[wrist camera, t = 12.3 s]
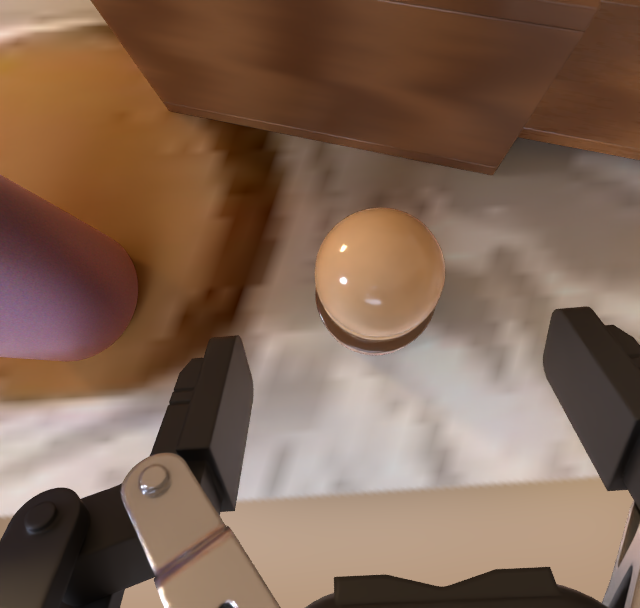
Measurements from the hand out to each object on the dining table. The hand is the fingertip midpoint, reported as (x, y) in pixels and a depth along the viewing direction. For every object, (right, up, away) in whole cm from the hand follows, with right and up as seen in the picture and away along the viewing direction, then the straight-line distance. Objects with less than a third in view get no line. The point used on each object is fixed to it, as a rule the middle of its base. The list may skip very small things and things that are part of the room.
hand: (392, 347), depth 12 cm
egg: (0, +1, +8) cm, 8 cm away
